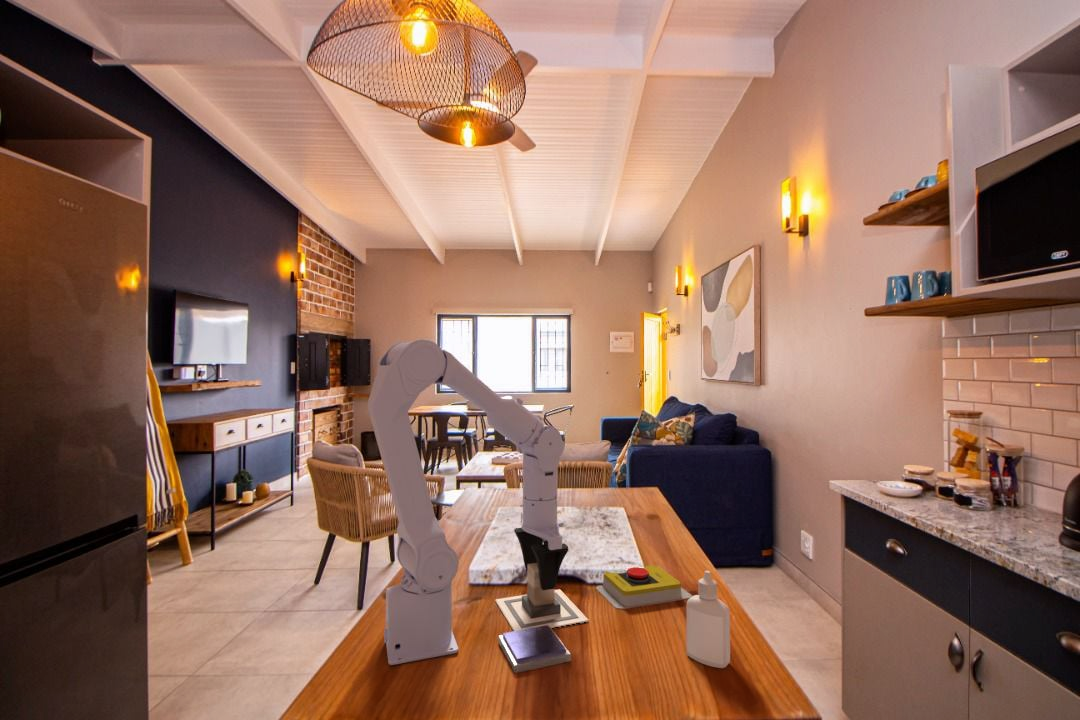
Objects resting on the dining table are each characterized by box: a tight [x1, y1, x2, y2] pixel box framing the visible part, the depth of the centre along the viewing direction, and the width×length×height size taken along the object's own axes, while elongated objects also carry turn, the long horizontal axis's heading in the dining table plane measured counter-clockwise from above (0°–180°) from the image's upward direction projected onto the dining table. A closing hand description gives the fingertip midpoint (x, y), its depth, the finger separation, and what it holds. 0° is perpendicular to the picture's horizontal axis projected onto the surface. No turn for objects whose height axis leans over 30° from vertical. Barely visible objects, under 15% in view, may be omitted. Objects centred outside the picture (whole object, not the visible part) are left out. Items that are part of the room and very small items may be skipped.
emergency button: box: [595, 564, 693, 610], centre depth 92 cm, size 9×4×15 cm
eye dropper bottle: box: [685, 570, 731, 669], centre depth 71 cm, size 4×6×12 cm
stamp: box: [522, 563, 561, 619], centre depth 85 cm, size 5×5×7 cm
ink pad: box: [498, 625, 572, 674], centre depth 72 cm, size 8×8×2 cm
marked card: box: [495, 588, 590, 631], centre depth 84 cm, size 12×12×1 cm
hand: (539, 579), depth 84 cm, fingers open, 7 cm apart
